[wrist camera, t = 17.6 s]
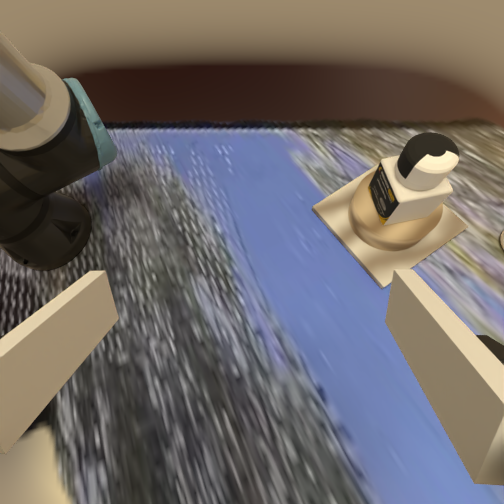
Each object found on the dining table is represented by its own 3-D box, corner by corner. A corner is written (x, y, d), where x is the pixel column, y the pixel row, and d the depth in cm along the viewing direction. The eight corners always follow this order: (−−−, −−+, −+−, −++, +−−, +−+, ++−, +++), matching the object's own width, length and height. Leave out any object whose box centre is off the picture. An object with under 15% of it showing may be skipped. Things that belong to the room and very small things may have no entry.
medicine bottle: (366, 187, 46) (393, 131, 35) (410, 178, 46) (451, 119, 35) (381, 226, 43) (416, 179, 32) (428, 217, 43) (479, 166, 32)
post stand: (311, 209, 52) (315, 191, 46) (387, 160, 54) (400, 137, 49) (381, 289, 46) (395, 278, 40) (464, 229, 48) (488, 212, 42)
